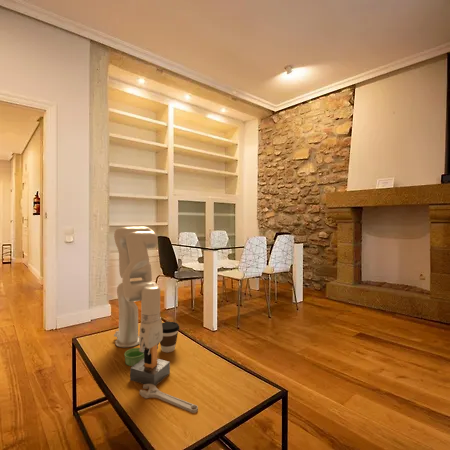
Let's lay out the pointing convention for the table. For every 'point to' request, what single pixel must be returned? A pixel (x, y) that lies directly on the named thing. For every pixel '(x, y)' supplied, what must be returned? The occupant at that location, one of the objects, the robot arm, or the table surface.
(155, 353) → the orange square peg
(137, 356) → the ramekin
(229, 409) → the table surface
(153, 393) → the adjustable wrench
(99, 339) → the table surface
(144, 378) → the grey square frame
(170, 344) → the coffee cup
